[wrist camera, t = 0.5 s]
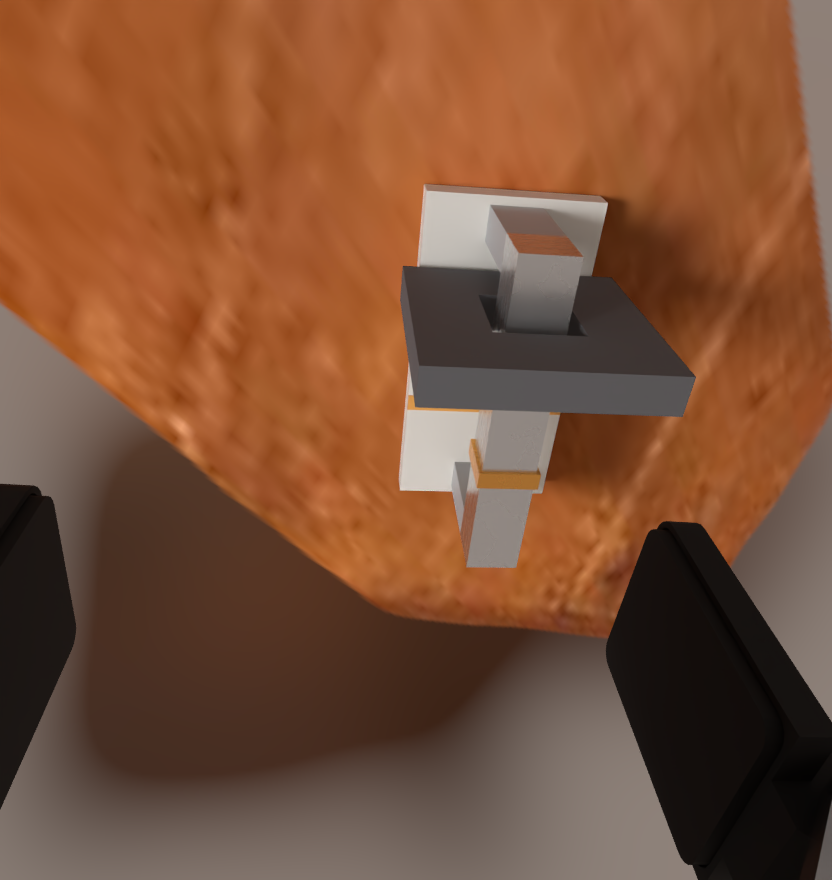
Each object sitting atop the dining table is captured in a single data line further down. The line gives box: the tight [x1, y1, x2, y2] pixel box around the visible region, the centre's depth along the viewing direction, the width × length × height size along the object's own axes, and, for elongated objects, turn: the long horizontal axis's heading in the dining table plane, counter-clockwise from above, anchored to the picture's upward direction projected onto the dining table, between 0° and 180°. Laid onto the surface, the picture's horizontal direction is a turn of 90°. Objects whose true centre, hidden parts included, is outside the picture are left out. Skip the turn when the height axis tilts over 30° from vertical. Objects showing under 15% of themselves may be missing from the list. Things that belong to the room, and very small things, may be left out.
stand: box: [399, 184, 608, 532], centre depth 42 cm, size 20×10×6 cm, turn 175°
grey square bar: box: [460, 233, 584, 568], centre depth 38 cm, size 19×3×3 cm, turn 175°
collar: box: [400, 266, 696, 417], centre depth 35 cm, size 2×12×12 cm, turn 85°
